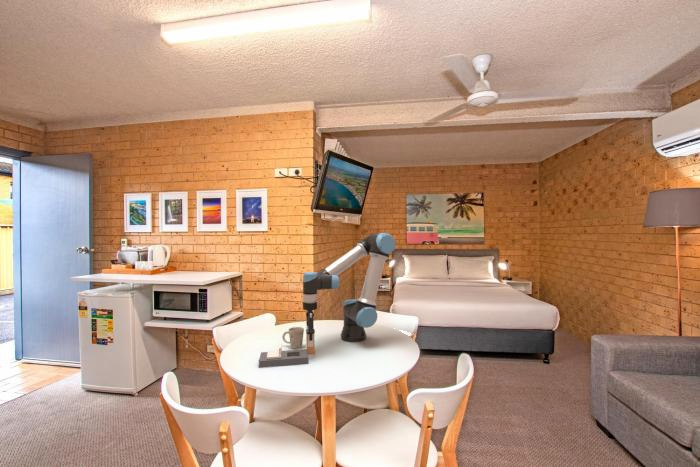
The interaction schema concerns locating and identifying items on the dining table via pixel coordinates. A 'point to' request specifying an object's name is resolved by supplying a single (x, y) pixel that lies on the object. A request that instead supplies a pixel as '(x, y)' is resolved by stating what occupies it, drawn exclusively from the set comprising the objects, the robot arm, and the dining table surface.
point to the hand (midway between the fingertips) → (309, 342)
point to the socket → (285, 358)
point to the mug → (295, 337)
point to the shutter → (275, 353)
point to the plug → (310, 349)
